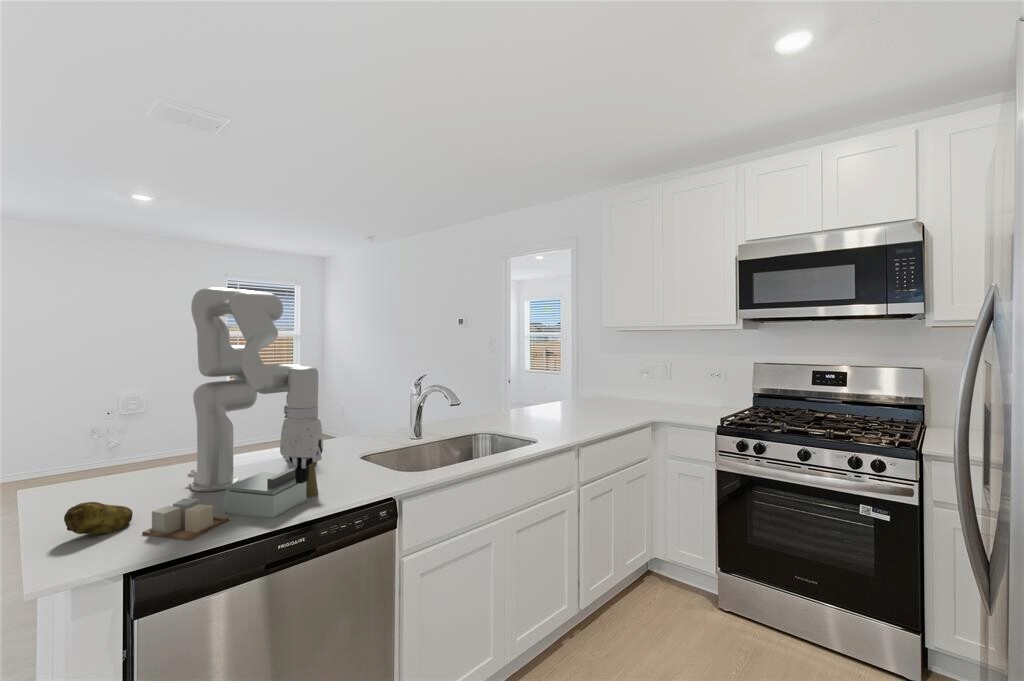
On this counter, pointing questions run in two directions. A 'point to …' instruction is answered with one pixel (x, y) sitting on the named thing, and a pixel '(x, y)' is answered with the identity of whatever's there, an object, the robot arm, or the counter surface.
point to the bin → (265, 501)
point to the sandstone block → (198, 518)
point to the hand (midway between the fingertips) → (302, 481)
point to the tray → (186, 534)
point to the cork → (312, 481)
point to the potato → (97, 518)
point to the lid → (265, 482)
